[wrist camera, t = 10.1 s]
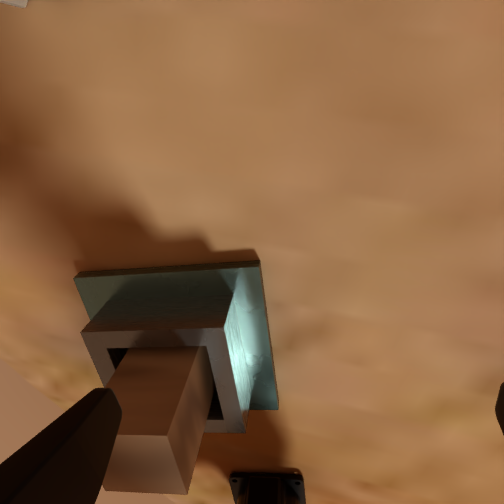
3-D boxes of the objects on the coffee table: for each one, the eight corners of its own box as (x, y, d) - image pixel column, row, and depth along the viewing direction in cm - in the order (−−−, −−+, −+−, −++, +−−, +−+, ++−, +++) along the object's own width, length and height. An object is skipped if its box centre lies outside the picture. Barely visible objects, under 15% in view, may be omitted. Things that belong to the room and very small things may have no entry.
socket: (278, 400, 26) (276, 451, 22) (131, 400, 27) (107, 447, 24) (260, 260, 20) (253, 297, 17) (80, 272, 22) (39, 307, 19)
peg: (219, 372, 24) (187, 494, 17) (160, 372, 25) (105, 490, 17) (207, 321, 22) (166, 435, 15) (144, 323, 23) (76, 433, 16)
